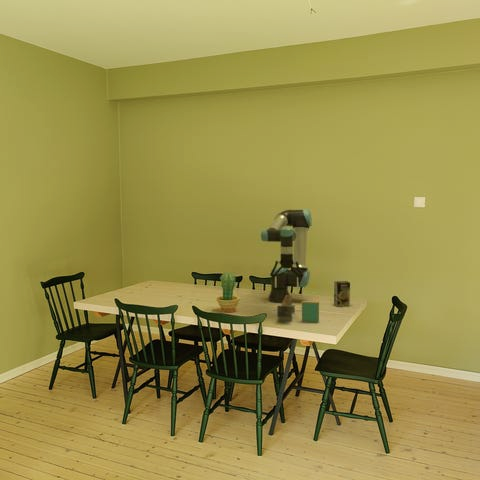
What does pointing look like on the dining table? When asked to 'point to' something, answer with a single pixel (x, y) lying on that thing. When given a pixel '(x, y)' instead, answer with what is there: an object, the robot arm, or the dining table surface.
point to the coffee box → (341, 293)
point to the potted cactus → (228, 293)
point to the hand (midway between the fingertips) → (286, 287)
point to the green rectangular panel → (310, 311)
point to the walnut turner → (285, 307)
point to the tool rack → (287, 317)
